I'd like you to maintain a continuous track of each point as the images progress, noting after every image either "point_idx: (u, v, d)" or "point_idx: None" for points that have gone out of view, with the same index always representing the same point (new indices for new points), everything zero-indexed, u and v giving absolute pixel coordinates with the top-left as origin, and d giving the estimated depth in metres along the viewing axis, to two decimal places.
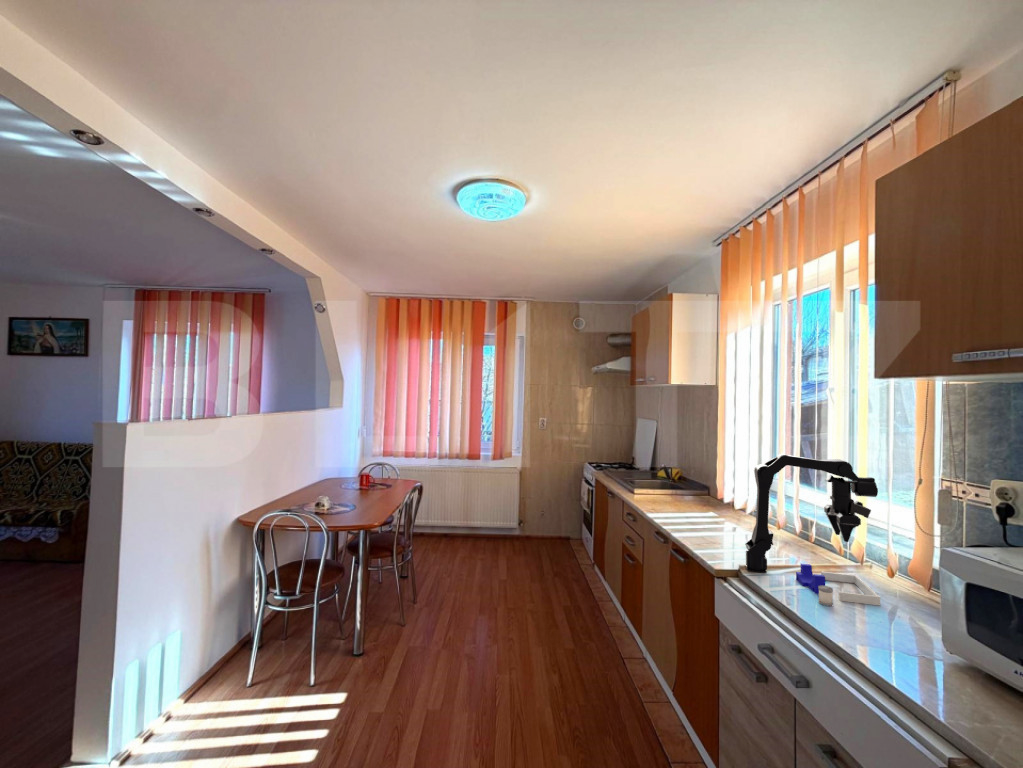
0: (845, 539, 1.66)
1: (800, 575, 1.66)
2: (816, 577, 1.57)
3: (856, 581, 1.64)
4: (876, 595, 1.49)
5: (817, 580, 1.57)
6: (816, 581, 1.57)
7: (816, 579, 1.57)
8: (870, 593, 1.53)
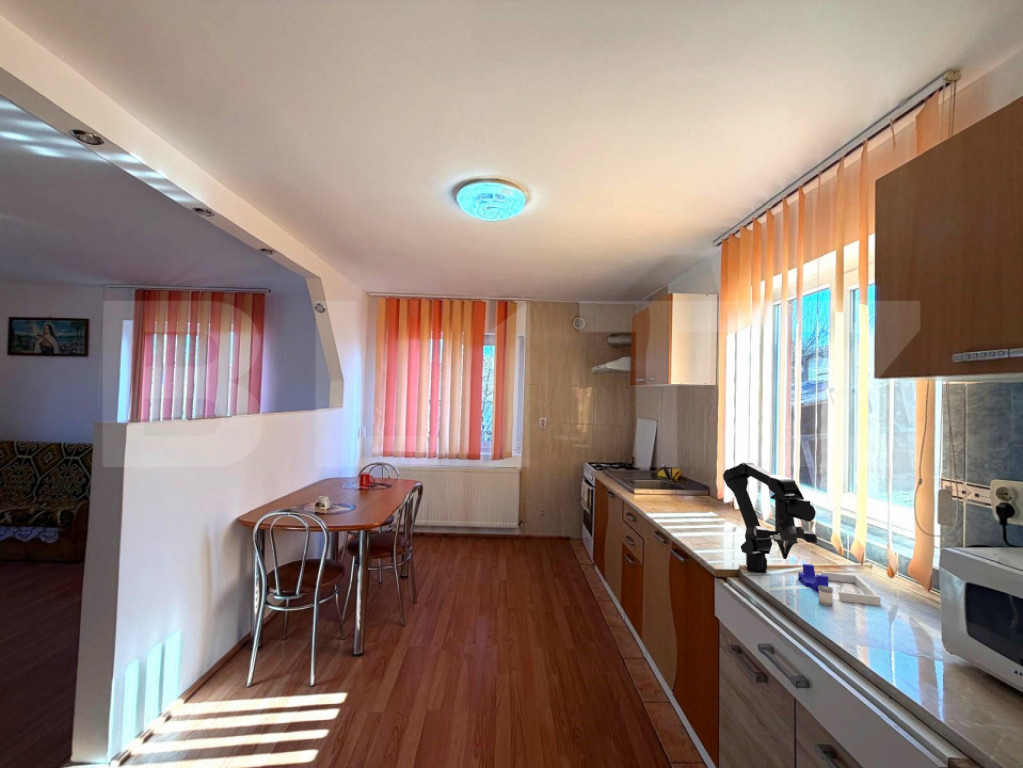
0: (782, 555, 1.66)
1: (803, 575, 1.66)
2: (819, 577, 1.57)
3: (856, 581, 1.64)
4: (876, 595, 1.49)
5: (820, 580, 1.57)
6: (819, 581, 1.57)
7: (819, 579, 1.57)
8: (870, 593, 1.53)
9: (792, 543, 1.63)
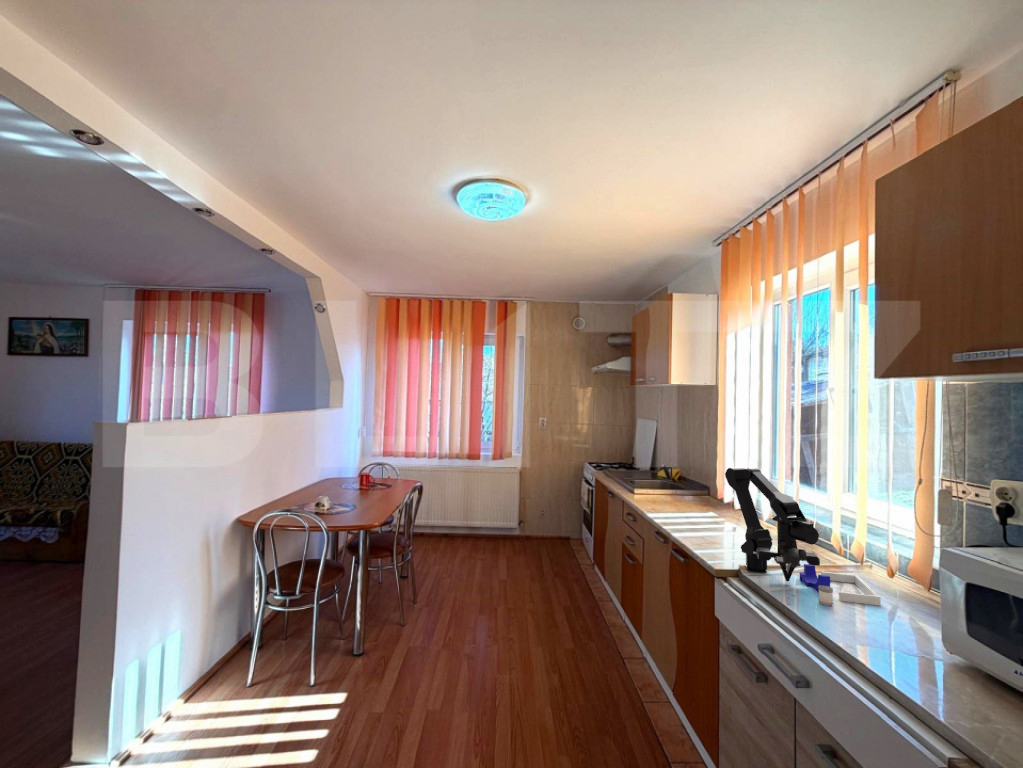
0: None
1: (804, 575, 1.66)
2: (821, 577, 1.57)
3: (856, 581, 1.64)
4: (876, 595, 1.49)
5: (822, 580, 1.57)
6: (821, 581, 1.57)
7: (821, 579, 1.57)
8: (870, 593, 1.53)
9: (795, 565, 1.62)
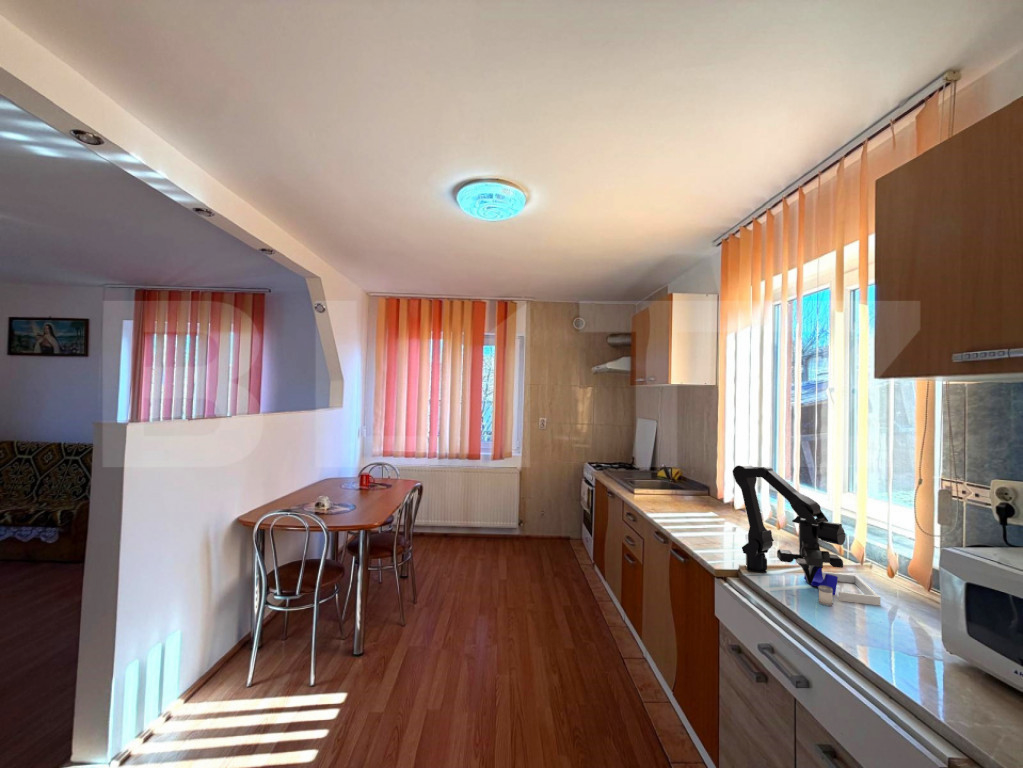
0: (807, 579, 1.63)
1: None
2: (829, 577, 1.56)
3: (856, 581, 1.64)
4: (876, 595, 1.49)
5: (829, 580, 1.56)
6: (828, 581, 1.56)
7: (828, 579, 1.56)
8: (870, 593, 1.53)
9: (817, 567, 1.60)
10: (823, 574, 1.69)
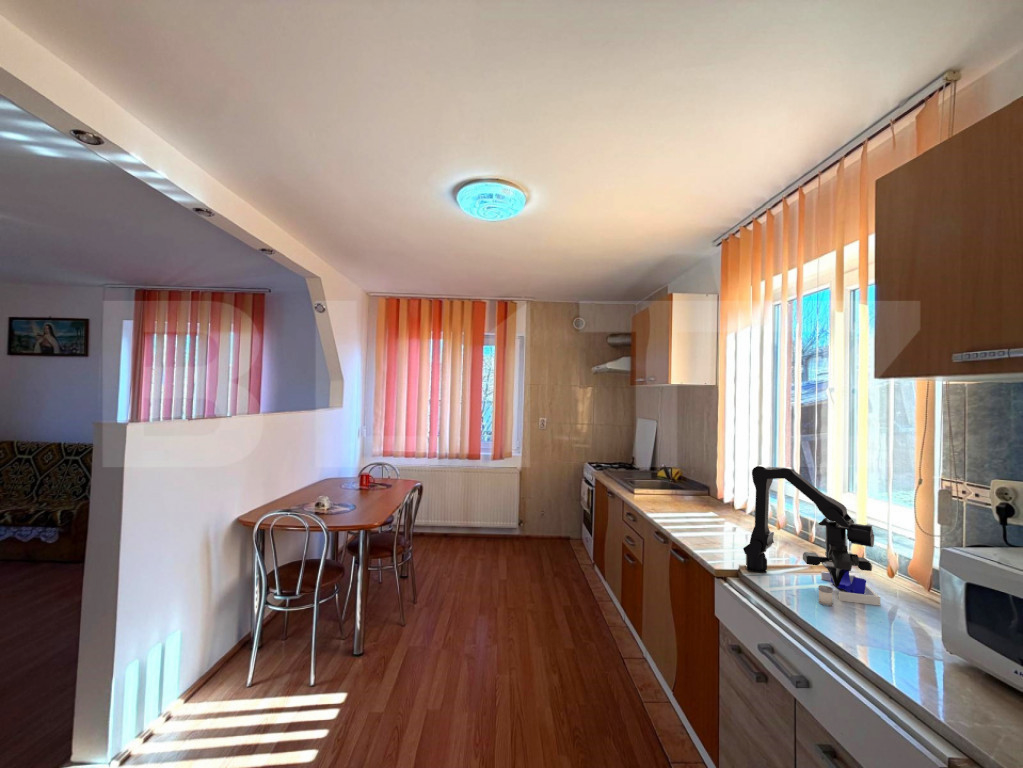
0: None
1: None
2: (857, 580, 1.54)
3: None
4: (876, 595, 1.49)
5: (857, 583, 1.54)
6: (856, 584, 1.54)
7: (856, 582, 1.54)
8: (870, 593, 1.53)
9: (845, 571, 1.57)
10: (823, 574, 1.69)
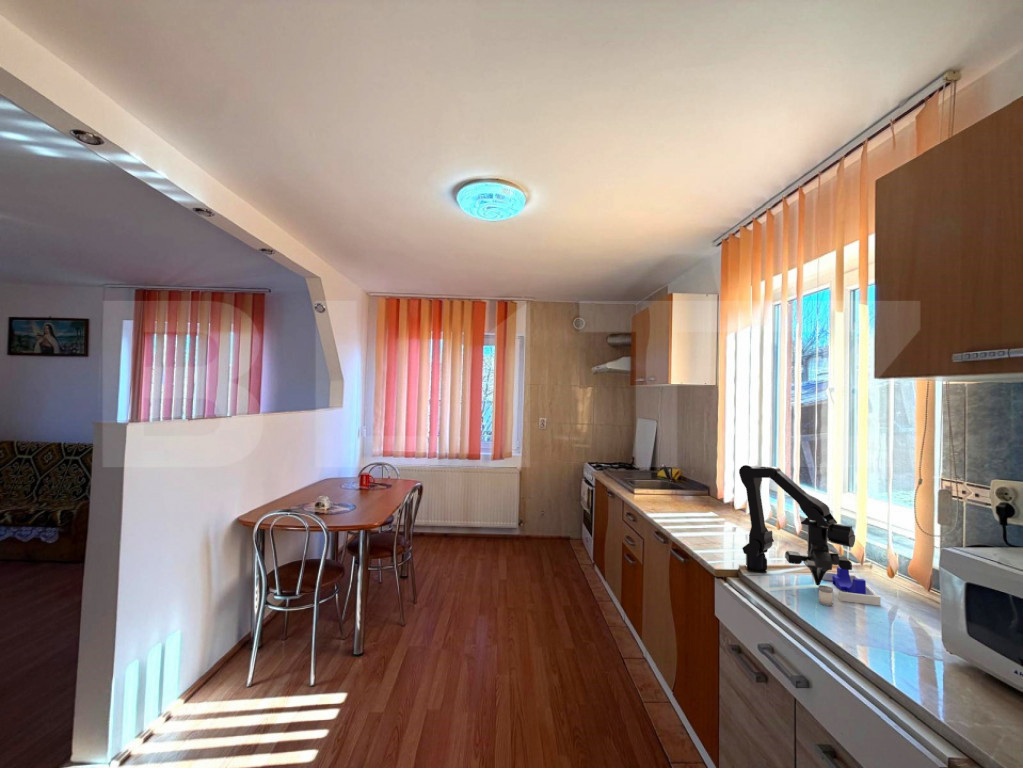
0: None
1: (837, 579, 1.63)
2: (856, 581, 1.54)
3: None
4: (876, 595, 1.49)
5: (857, 584, 1.53)
6: (856, 585, 1.53)
7: (856, 583, 1.54)
8: (870, 593, 1.53)
9: (826, 569, 1.59)
10: None
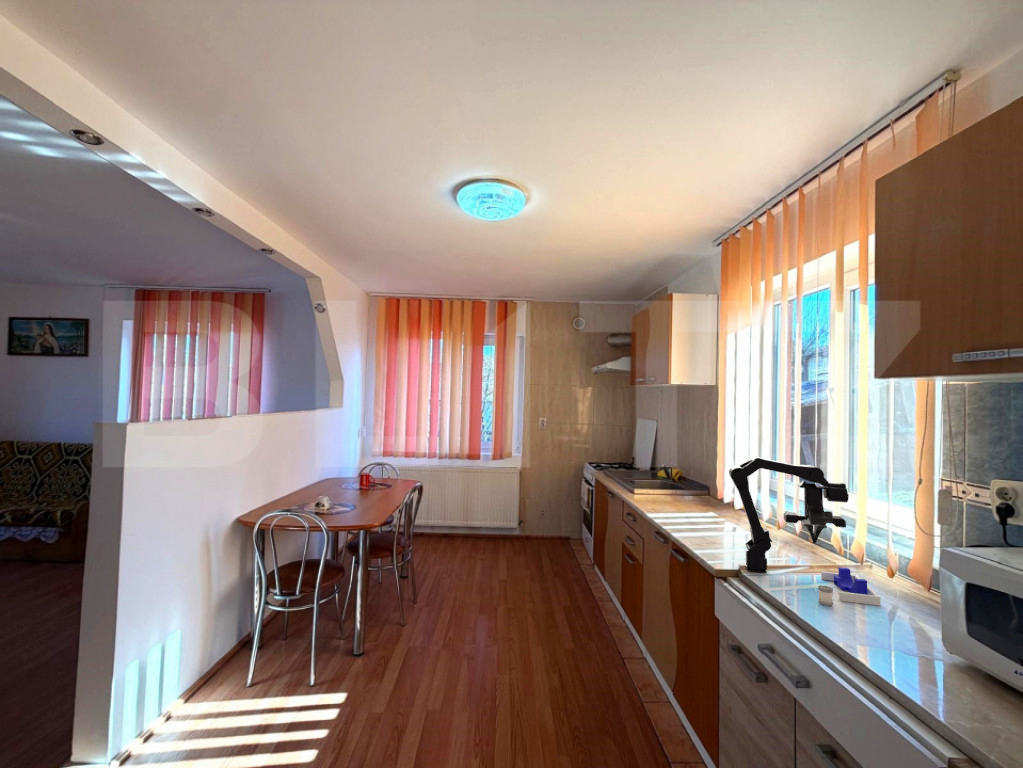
0: None
1: (839, 579, 1.63)
2: (858, 582, 1.53)
3: None
4: (876, 595, 1.49)
5: (859, 585, 1.53)
6: (858, 586, 1.53)
7: (858, 584, 1.53)
8: (870, 593, 1.53)
9: (821, 527, 1.70)
10: (823, 574, 1.69)
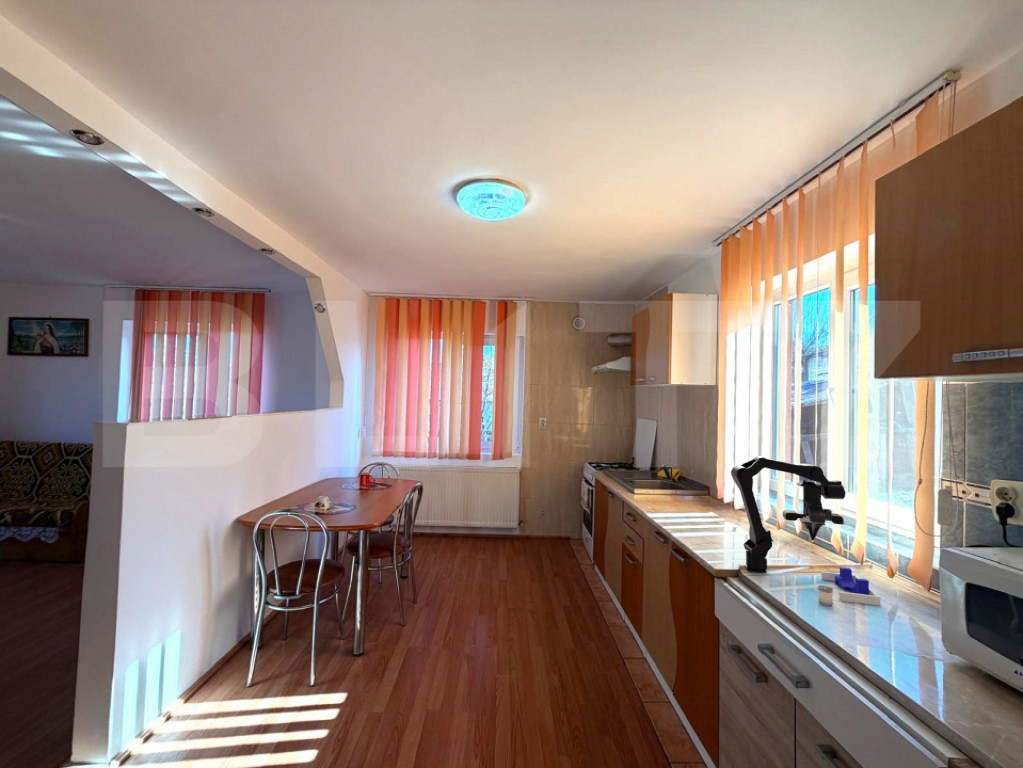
0: (810, 537, 1.77)
1: (840, 579, 1.63)
2: (859, 581, 1.54)
3: None
4: (876, 595, 1.49)
5: (860, 584, 1.53)
6: (859, 585, 1.53)
7: (859, 583, 1.53)
8: (870, 593, 1.53)
9: (820, 525, 1.74)
10: (823, 574, 1.69)
